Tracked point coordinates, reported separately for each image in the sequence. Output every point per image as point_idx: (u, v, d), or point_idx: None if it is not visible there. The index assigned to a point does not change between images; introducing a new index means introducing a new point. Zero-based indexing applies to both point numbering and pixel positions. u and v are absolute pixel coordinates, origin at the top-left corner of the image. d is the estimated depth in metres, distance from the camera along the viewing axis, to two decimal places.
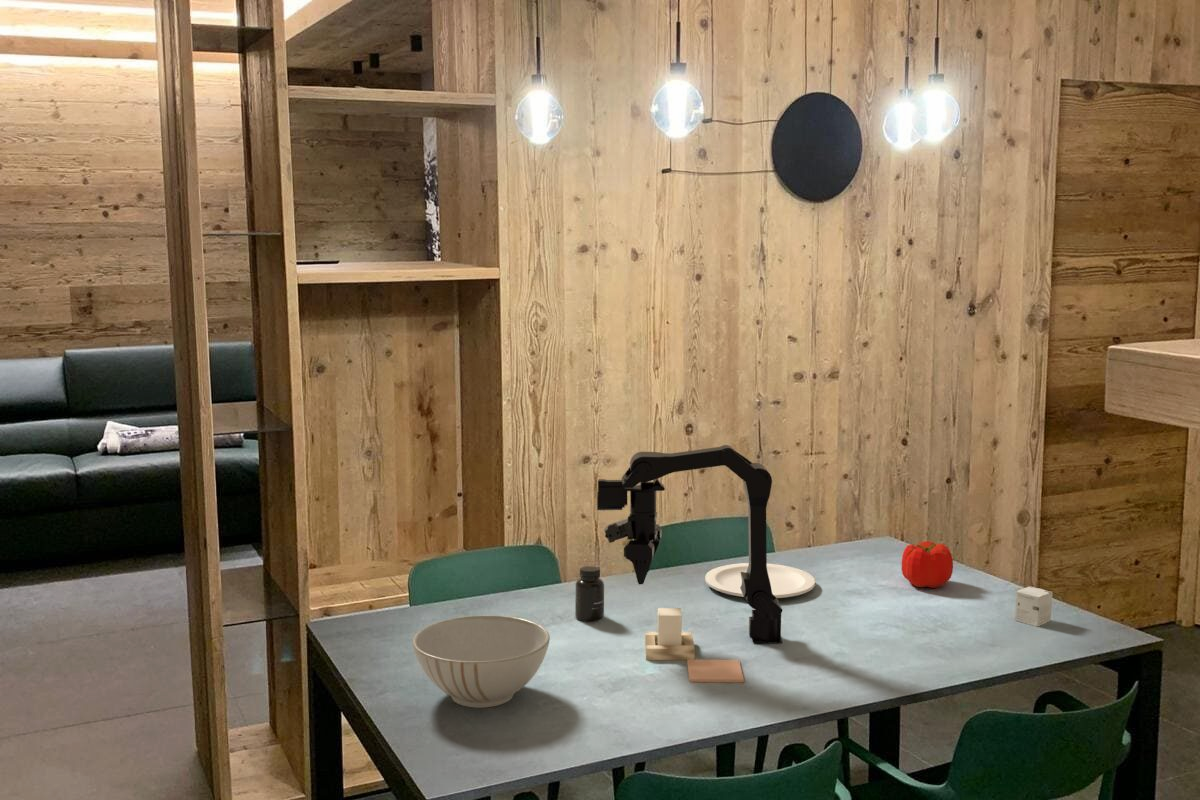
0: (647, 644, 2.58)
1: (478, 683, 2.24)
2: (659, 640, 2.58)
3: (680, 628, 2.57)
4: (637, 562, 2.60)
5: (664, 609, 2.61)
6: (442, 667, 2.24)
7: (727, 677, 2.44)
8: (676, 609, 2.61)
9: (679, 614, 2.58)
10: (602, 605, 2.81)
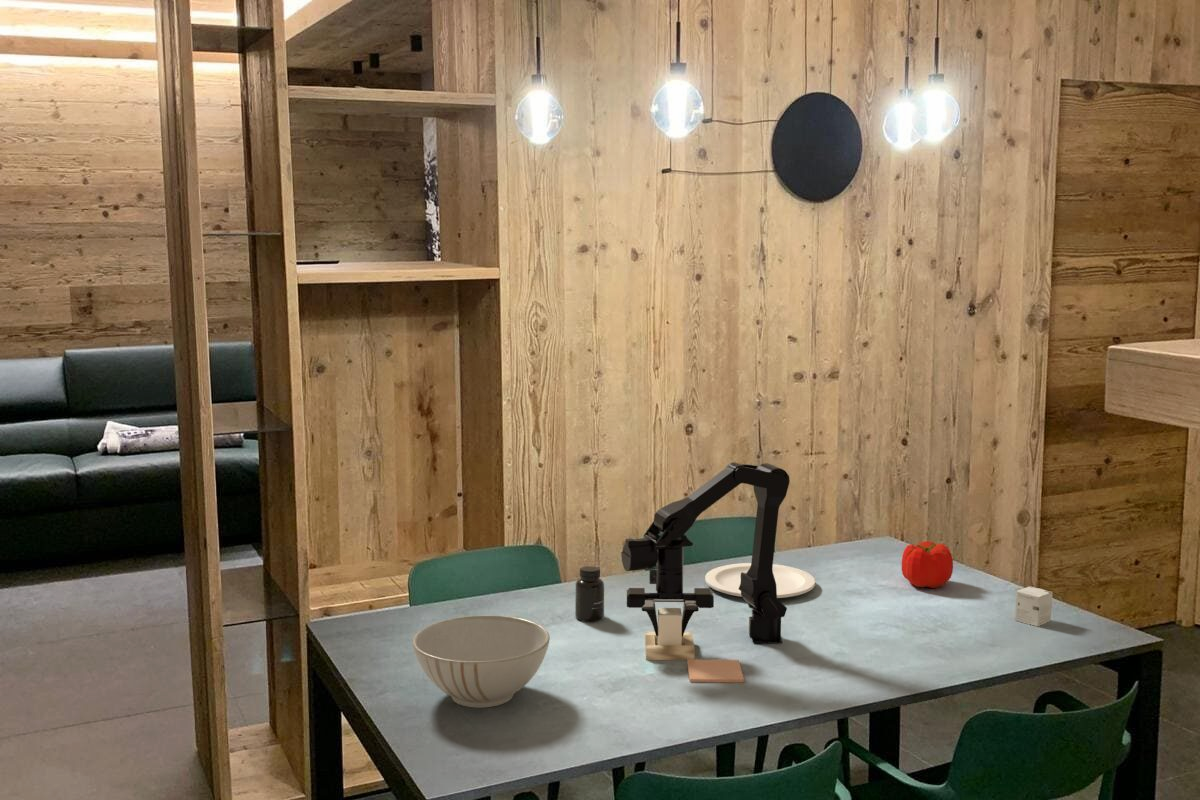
0: (647, 644, 2.58)
1: (478, 683, 2.24)
2: (659, 640, 2.58)
3: (680, 628, 2.57)
4: None
5: (664, 609, 2.61)
6: (442, 667, 2.24)
7: (727, 677, 2.44)
8: (676, 609, 2.61)
9: (679, 614, 2.58)
10: (602, 605, 2.81)
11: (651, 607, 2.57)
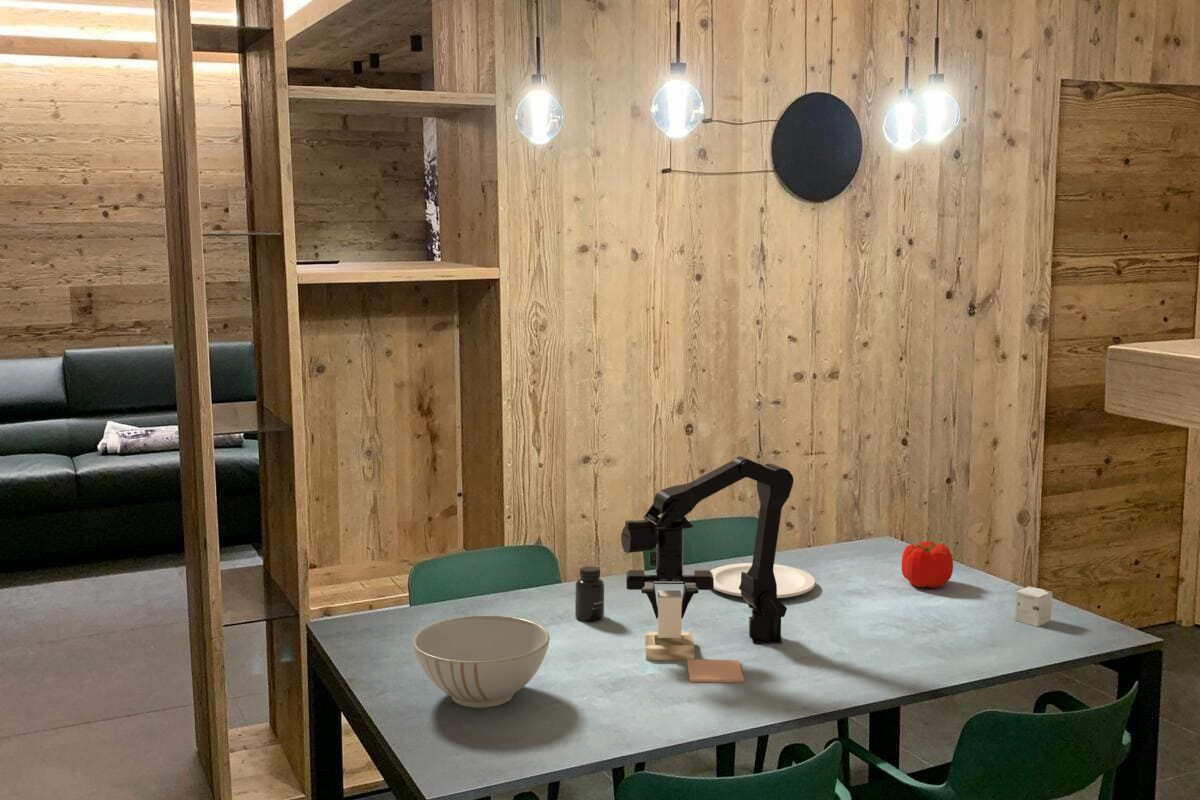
0: (647, 644, 2.58)
1: (478, 683, 2.24)
2: (659, 622, 2.57)
3: (680, 610, 2.57)
4: None
5: (664, 591, 2.60)
6: (442, 667, 2.24)
7: (727, 677, 2.44)
8: (676, 591, 2.60)
9: (678, 596, 2.57)
10: (602, 605, 2.81)
11: (651, 589, 2.57)
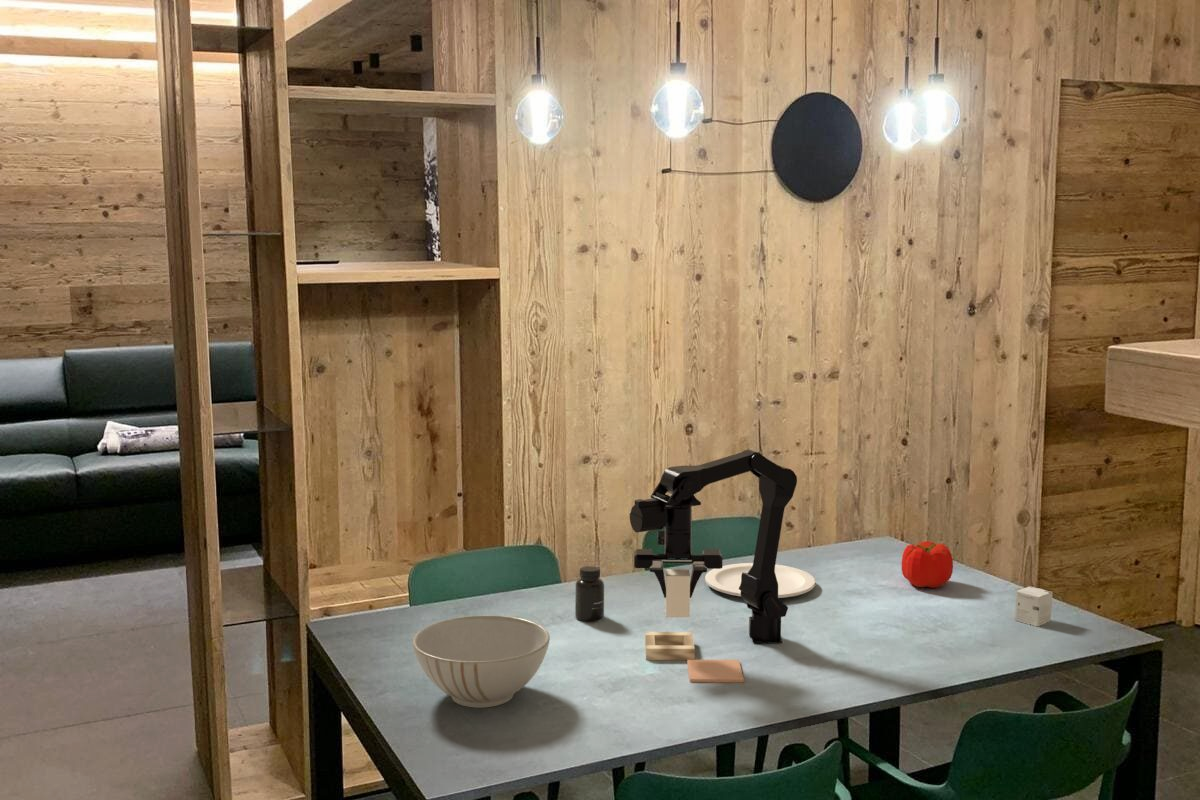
0: (647, 644, 2.58)
1: (478, 683, 2.24)
2: (667, 601, 2.54)
3: (688, 589, 2.54)
4: None
5: (672, 570, 2.57)
6: (442, 667, 2.24)
7: (727, 677, 2.44)
8: (684, 570, 2.57)
9: (687, 575, 2.54)
10: (602, 605, 2.81)
11: (659, 568, 2.54)
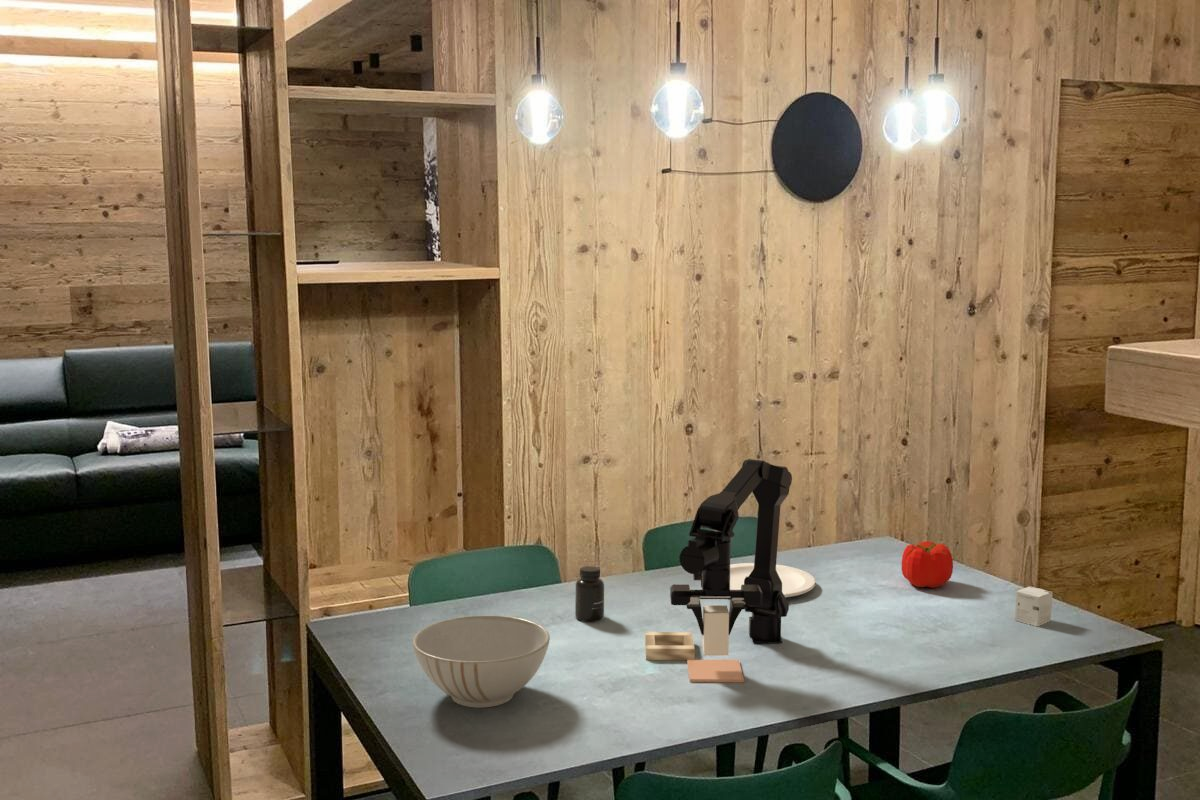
0: (647, 644, 2.58)
1: (478, 683, 2.24)
2: (705, 639, 2.45)
3: (727, 626, 2.45)
4: None
5: (710, 606, 2.48)
6: (442, 667, 2.24)
7: (727, 677, 2.44)
8: (722, 606, 2.48)
9: (725, 612, 2.45)
10: (602, 605, 2.81)
11: (697, 605, 2.44)
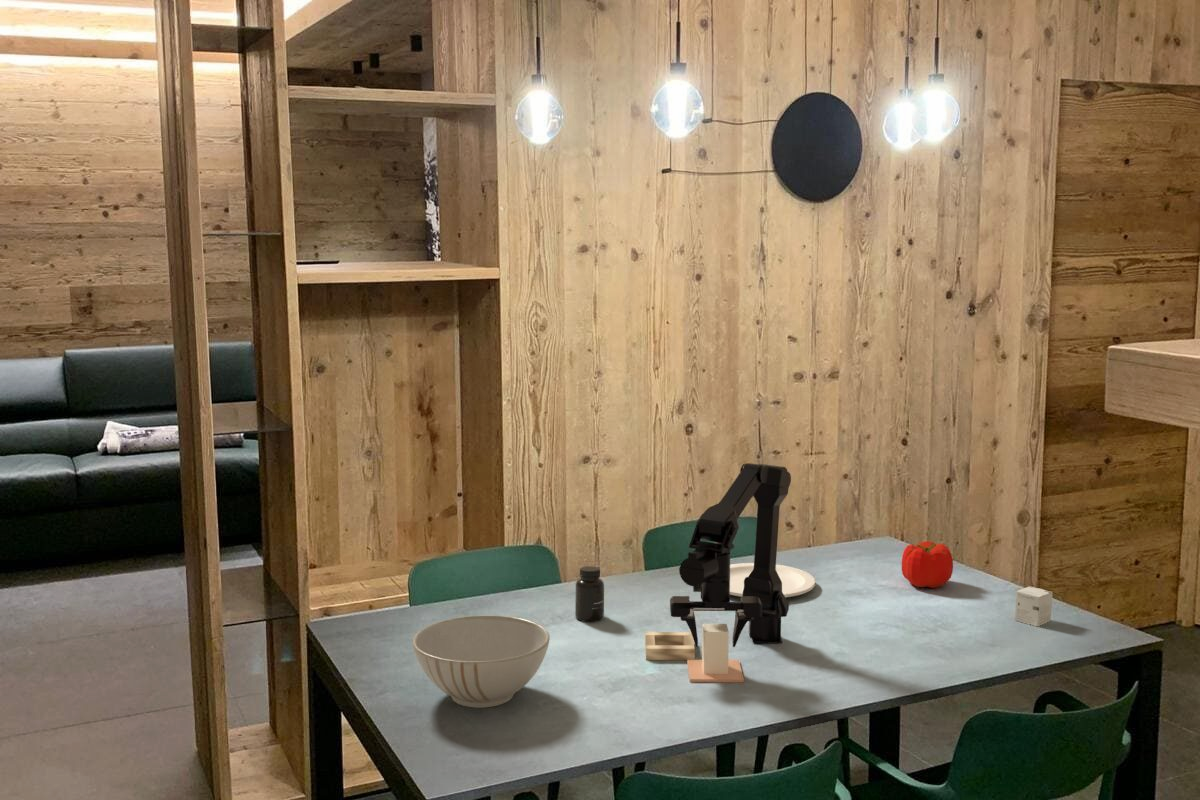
0: (647, 644, 2.58)
1: (478, 683, 2.24)
2: (705, 658, 2.46)
3: (727, 645, 2.45)
4: None
5: (709, 625, 2.49)
6: (442, 667, 2.24)
7: (727, 677, 2.44)
8: (722, 625, 2.49)
9: (725, 630, 2.46)
10: (602, 605, 2.81)
11: (691, 616, 2.45)
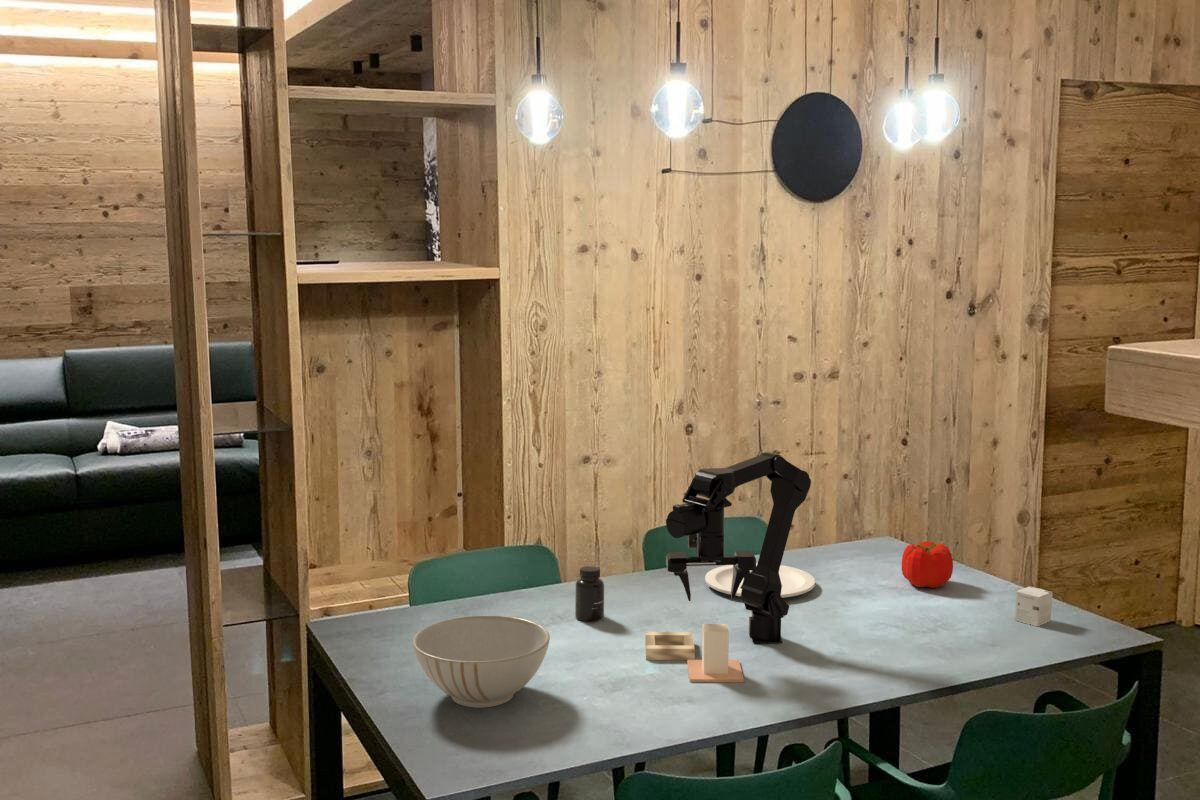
0: (647, 644, 2.58)
1: (478, 683, 2.24)
2: (705, 658, 2.46)
3: (727, 645, 2.45)
4: None
5: (709, 625, 2.49)
6: (442, 667, 2.24)
7: (727, 677, 2.44)
8: (722, 625, 2.49)
9: (725, 630, 2.46)
10: (602, 605, 2.81)
11: (683, 571, 2.52)
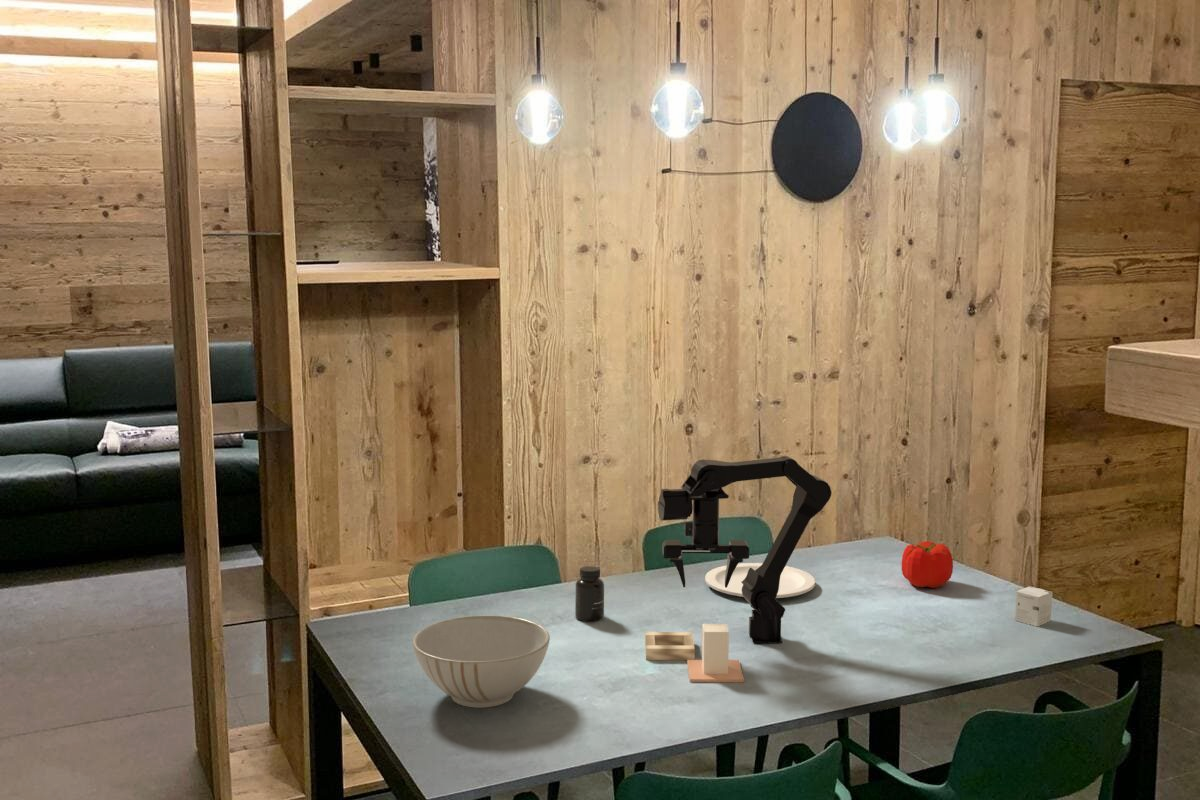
0: (647, 644, 2.58)
1: (478, 683, 2.24)
2: (705, 658, 2.46)
3: (727, 645, 2.45)
4: None
5: (709, 625, 2.49)
6: (442, 667, 2.24)
7: (727, 677, 2.44)
8: (722, 625, 2.49)
9: (725, 630, 2.46)
10: (602, 605, 2.81)
11: (678, 558, 2.61)
